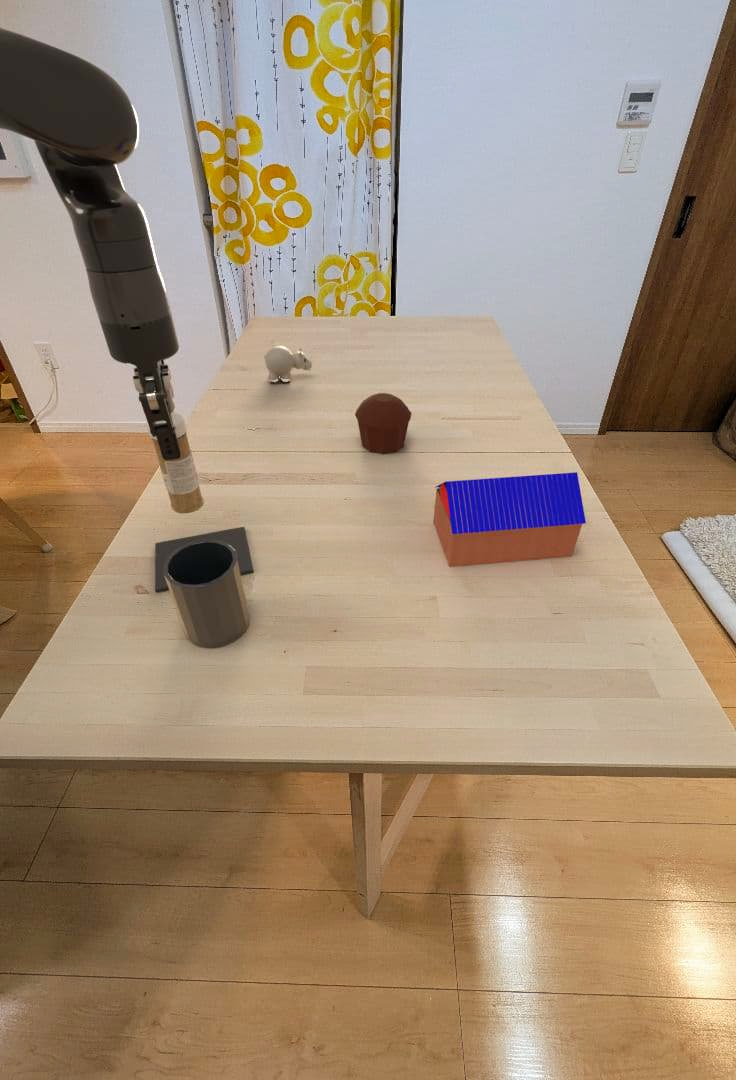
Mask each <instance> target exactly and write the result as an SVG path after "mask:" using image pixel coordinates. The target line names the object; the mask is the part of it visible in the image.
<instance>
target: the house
mask: <svg viewBox="0 0 736 1080" xmlns="http://www.w3.org/2000/svg"><path fill="white" fill-rule="evenodd" d="M434 488H436V489H435V498H434V499H435V500H434V510H433V519H432V520H433V525H434V527H435V530H436V533H437V536H438V539H439V542H440V544H441V548H442V550H443V552H444V555H445V559H446V561H447V565H448V566H449V567H451V568H452V567H462V566H474V565H485V564H487V565H488V564H498V563H508V562H509V563H510V562H520V561H532V560H543V559H544V560H545V559H556V558H568V557H572V556H573V553H574V550H575V547H576V545H577V541H578V538H579V536H580V533H581V530H582V527H583V525H584V524H587V521H586V515H585V510H584V503H583V499H582V498H583V497H582V492H581V486H580V479H579V475H578V471H576V472H575V471H573V472H563V473H562V472H561V473H547V474H533V475H532V474H531V475H521V476H520V475H519V476H506V477H492V478H491V477H489V478H478V479H477V478H475V479H463V480H447V481H444V482H442V483H440V484H438V485H436V486H434Z"/></svg>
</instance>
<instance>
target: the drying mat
mask: <svg viewBox="0 0 736 1080" xmlns="http://www.w3.org/2000/svg"><path fill="white" fill-rule="evenodd" d="M201 540H218V541H221V542H224V543H226V544H229V545H230V546H231V547H232V548H233V549H234V550H235V551H236V555H237V560H238V564H239V569H240V573H241V576H242V575H248V574H253V573H254V567H253V562H252V557H251V552H250V547H249V543H248V537H247V533H246V528H245V526H241V527H235V528H229V529H224V530H218V531H213V532H208V533H203V534H196V535H192V536H185V537H181V538H174V539H169V540H164V541H158V542H155V544H154V545H155V546H154V547H155V548H154V552H155V553H154V554H155V555H154V591H155V593H160V592H165V591H169V588H168V585H167V582H166V579H165V576H164V564H165V562H166V560H167V559H168V557H169V556H170V555H171V554H172V553H173V552H175V551H176V550H177V549H178V548H180V547H182V546H185V545H187V544H189V543H191V542H196V541H201Z"/></svg>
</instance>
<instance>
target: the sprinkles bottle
mask: <svg viewBox="0 0 736 1080" xmlns="http://www.w3.org/2000/svg"><path fill="white" fill-rule="evenodd" d="M172 418H173V422H174V425H175V426H176V429H175V433H176V437H177V440H178V444H179V448H180V452H181V457H180V458H179V459H173V460H164V459H163V457H162V454H161V450H160V447H159V443H158V440H157V436H156V437H153V436H152V434H151V433H150V427H149V424H148V422H147V421H146V427H147V431H148V434H149V437H150V438H151V440H152V443H153V446H154V449H155V453H156V457H157V460H158V465H159V468H160V472H161V476H162V478H163V479H162V480H163V483H164V486H165V488H166V491H167V494H168V497H169V500H170V507H171V509H172V511H173V512H176V513H178V514H184V515H185V514H191V513H192V514H193V513H195V512H196V511H197V512H198V511H199V510H201V508H202V507H203V506H204V504H205V499H204V497H203V496H202V492H201V491H202V490H201V489H200V480H199V477H198V476H199V475H198V472H197V468H196V464H195V461H194V456H193V451H192V450H191V447H190V443H189V439H188V432H187V430H188V429H187V425H186V421H185V418H184V416H183V415H182V414H181V413H179V412H175V411H174V412H172ZM156 423H157V424H160V423H166V421H157V422H156Z"/></svg>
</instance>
